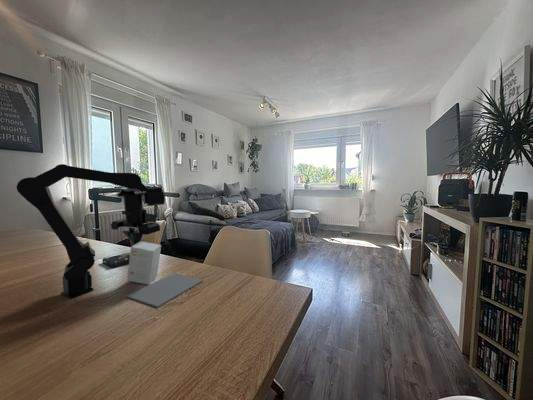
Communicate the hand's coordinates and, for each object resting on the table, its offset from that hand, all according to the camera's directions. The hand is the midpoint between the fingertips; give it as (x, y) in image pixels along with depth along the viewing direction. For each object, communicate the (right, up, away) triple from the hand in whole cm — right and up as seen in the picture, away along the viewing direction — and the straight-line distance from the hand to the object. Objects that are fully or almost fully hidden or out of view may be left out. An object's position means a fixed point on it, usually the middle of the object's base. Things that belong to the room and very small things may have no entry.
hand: (137, 248), depth 87 cm
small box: (+3, -11, -1) cm, 11 cm away
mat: (+14, -12, -7) cm, 20 cm away
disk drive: (-16, -10, +19) cm, 27 cm away
